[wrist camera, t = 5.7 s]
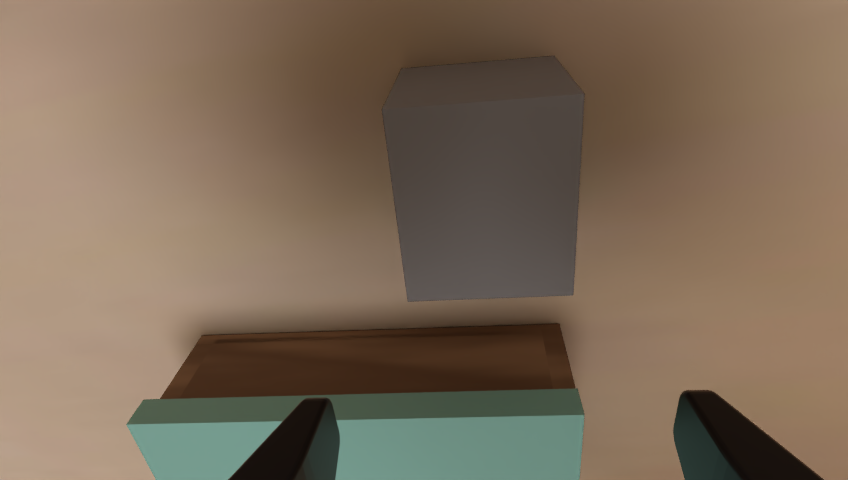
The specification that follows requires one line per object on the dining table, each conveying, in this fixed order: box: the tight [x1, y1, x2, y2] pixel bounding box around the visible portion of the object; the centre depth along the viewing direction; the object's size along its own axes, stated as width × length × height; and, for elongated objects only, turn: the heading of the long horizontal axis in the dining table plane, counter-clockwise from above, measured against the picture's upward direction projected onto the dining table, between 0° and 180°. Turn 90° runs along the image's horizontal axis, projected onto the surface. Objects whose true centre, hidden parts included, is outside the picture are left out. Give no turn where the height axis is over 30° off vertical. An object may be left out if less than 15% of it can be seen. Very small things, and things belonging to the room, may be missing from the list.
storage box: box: [160, 324, 576, 399], centre depth 24 cm, size 12×16×4 cm
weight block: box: [382, 56, 585, 302], centre depth 17 cm, size 6×5×5 cm
